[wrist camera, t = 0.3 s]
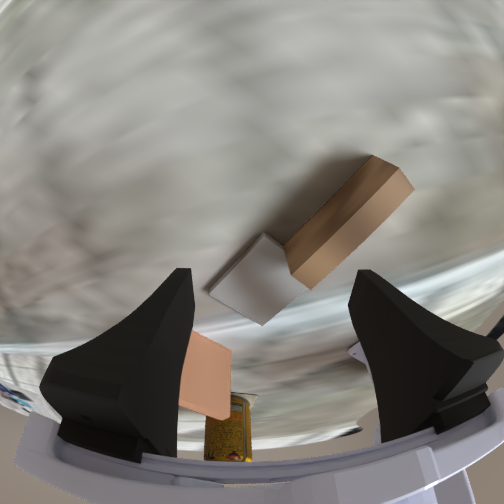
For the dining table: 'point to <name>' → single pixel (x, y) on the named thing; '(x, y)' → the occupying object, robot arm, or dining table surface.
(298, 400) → the dining table surface
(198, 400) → the tile
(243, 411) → the condiment
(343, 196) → the tall wooden plank
